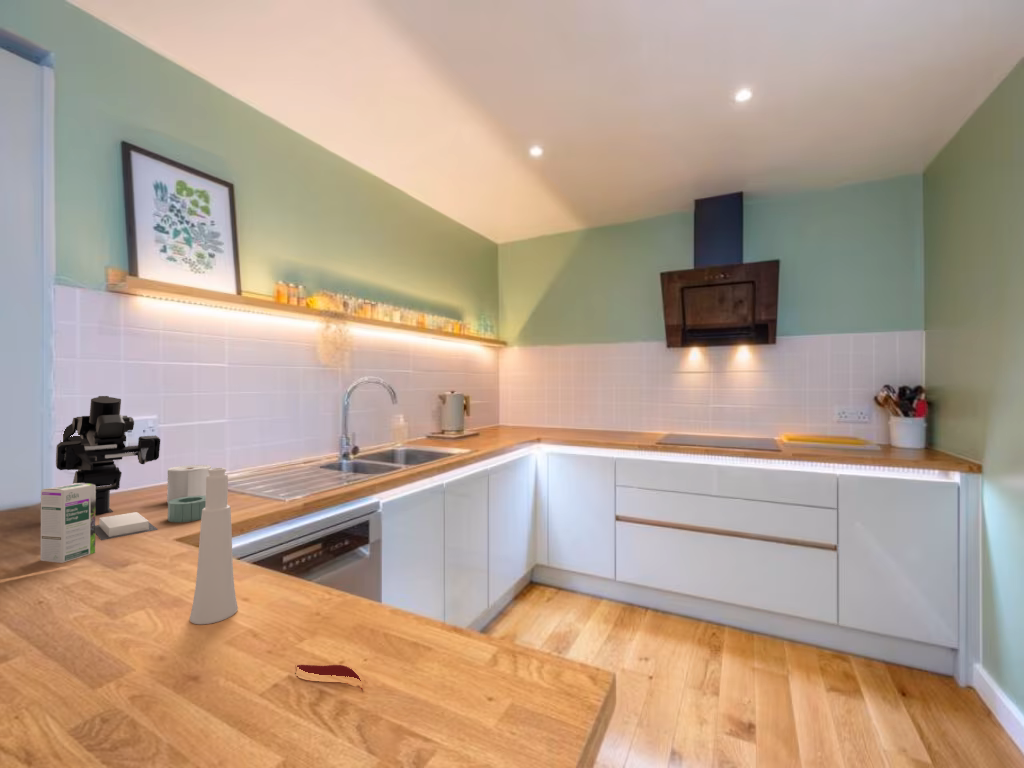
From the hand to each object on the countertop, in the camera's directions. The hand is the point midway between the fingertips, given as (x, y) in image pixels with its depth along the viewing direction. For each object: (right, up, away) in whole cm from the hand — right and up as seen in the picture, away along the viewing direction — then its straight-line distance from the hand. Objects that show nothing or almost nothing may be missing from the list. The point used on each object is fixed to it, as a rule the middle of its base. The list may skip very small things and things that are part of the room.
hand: (118, 464), depth 103 cm
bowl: (+8, -16, +12) cm, 22 cm away
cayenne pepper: (+71, -17, -51) cm, 89 cm away
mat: (-1, -16, +2) cm, 16 cm away
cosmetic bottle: (+47, -16, -37) cm, 62 cm away
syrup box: (+4, -16, -16) cm, 23 cm away
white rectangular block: (-1, -16, +2) cm, 16 cm away
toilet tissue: (-5, -17, +30) cm, 35 cm away
